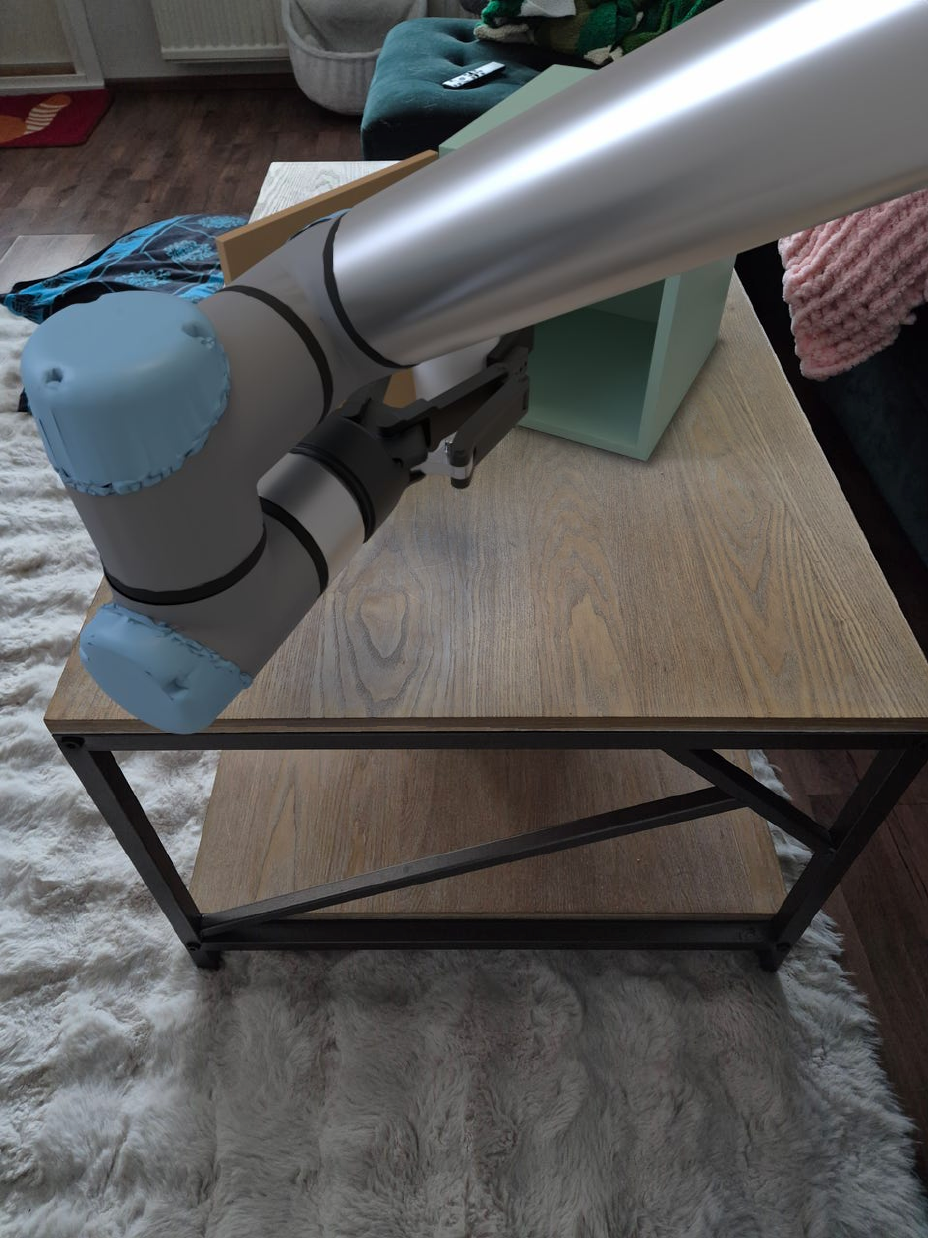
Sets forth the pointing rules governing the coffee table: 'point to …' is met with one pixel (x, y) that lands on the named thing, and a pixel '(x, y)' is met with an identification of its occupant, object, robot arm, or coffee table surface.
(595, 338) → the box
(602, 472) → the coffee table surface
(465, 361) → the drinking glass
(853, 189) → the robot arm
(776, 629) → the coffee table surface
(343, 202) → the fridge door
